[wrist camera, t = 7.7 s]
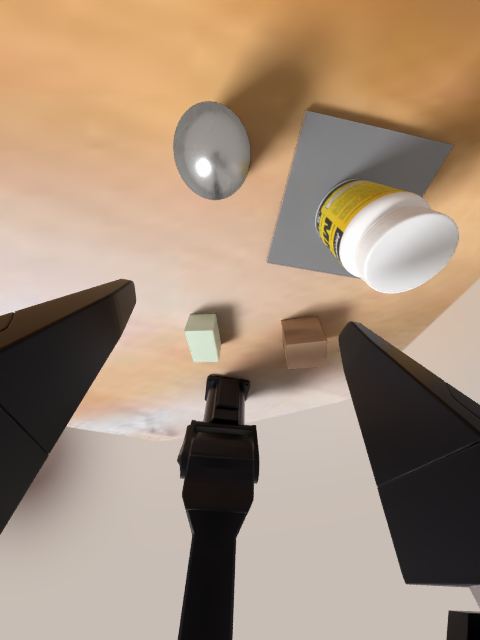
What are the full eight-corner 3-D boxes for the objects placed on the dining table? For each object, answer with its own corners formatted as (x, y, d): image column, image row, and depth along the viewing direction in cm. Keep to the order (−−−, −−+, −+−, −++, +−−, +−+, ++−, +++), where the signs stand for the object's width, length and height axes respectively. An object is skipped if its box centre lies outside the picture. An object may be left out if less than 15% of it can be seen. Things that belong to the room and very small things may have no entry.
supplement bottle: (302, 208, 16) (341, 248, 10) (365, 161, 14) (465, 170, 8) (328, 256, 18) (373, 314, 12) (385, 220, 17) (476, 266, 10)
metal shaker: (244, 192, 16) (243, 205, 12) (192, 182, 16) (174, 192, 12) (255, 122, 14) (257, 111, 10) (193, 109, 13) (171, 92, 9)
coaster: (366, 277, 20) (369, 280, 20) (266, 260, 20) (266, 262, 19) (447, 145, 14) (454, 144, 14) (304, 111, 13) (306, 110, 13)
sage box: (221, 343, 27) (218, 361, 25) (198, 344, 27) (193, 362, 25) (216, 312, 24) (212, 330, 22) (190, 313, 24) (184, 331, 22)
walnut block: (315, 340, 26) (324, 366, 23) (283, 344, 27) (287, 369, 24) (316, 315, 24) (327, 340, 20) (281, 320, 24) (286, 344, 21)
